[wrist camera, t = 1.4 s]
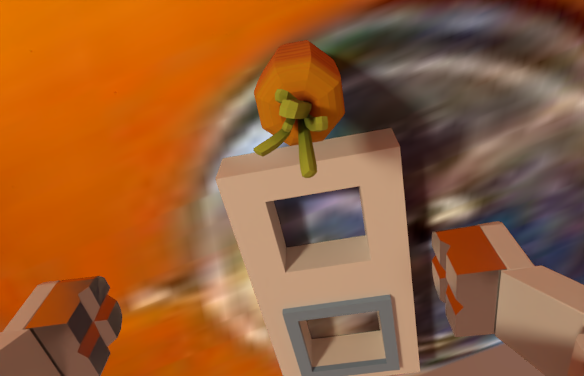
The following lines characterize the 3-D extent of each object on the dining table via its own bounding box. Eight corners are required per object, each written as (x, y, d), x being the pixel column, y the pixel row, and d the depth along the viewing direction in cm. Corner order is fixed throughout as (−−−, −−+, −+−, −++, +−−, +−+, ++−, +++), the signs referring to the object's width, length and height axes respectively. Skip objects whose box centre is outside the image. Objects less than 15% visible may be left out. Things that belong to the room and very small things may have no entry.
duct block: (391, 127, 34) (401, 150, 31) (412, 343, 47) (421, 376, 44) (222, 158, 36) (214, 183, 32) (287, 358, 49) (286, 392, 45)
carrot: (324, 94, 33) (340, 199, 20) (260, 80, 32) (234, 178, 20) (342, 28, 30) (372, 99, 18) (273, 12, 30) (252, 72, 17)
